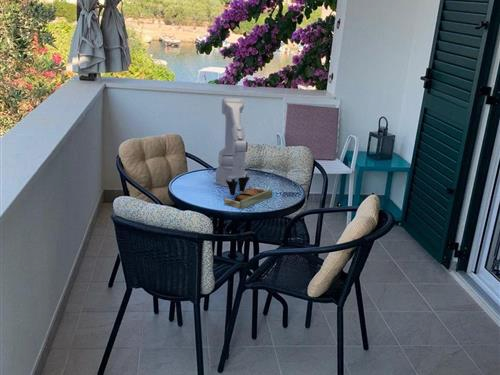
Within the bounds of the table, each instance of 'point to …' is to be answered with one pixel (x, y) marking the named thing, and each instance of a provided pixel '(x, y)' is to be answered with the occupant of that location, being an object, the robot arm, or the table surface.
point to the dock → (250, 199)
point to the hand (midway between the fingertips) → (237, 193)
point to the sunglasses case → (246, 194)
